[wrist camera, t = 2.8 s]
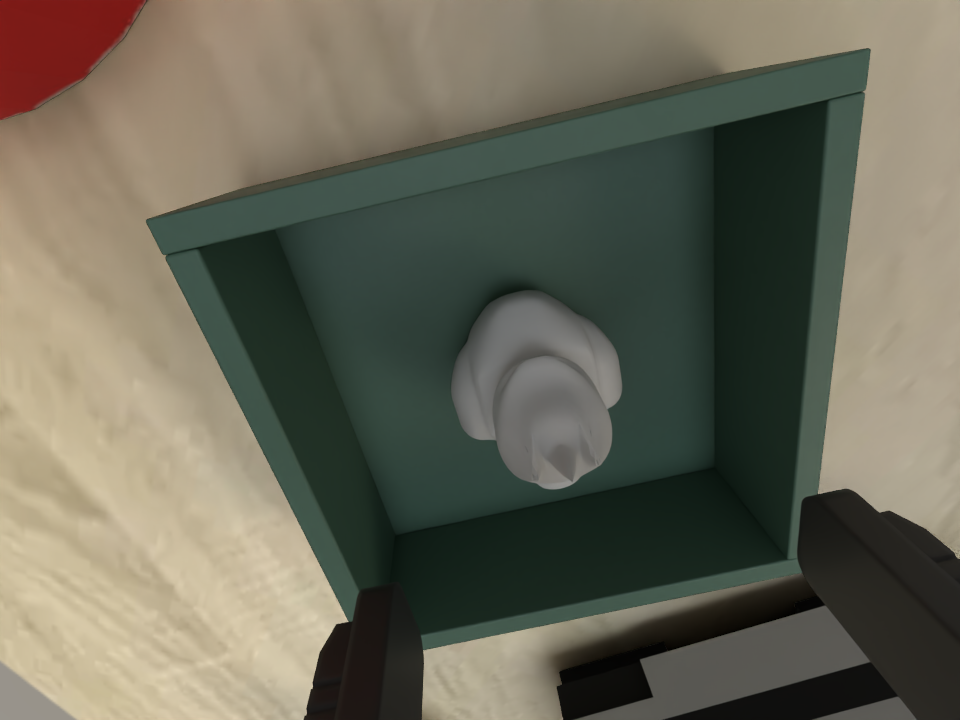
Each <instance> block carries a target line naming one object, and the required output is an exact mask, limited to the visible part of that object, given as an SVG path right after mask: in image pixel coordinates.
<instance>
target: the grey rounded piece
mask: <svg viewBox="0 0 960 720" xmlns="http://www.w3.org/2000/svg"><path fill="white" fill-rule="evenodd" d="M621 393H622V379H621V373H620V366H619V359H618V355H617V352H616V350H615V348H614V346H613V345H612V343H611V342H610V341H609V339H608V338H607V337H606V335H605V334H604V333H603V332H602V331H601V330H600V329H599V328H598V327H597V326H596V325H595V324H594V323H593V322H592V321H590V320H589V319H587V318H585V317H583V316H581V315H578V314H576V313H575V312H573V311H572V310H571V309H570V308H569V307H567V306H566V305H565V304H563V303H562V302H560V301H559V300H557V299H555V298H553V297H551V296H550V295H548V294H546V293H544V292H541V291H538V290H524V291H519V292H515V293H511V294H507V295H504V296H502V297H499V298H497V299H496V300H494V301H492V302H490V303H489V304H488V305H487V306H486V307H485V308H484V310H483V311H482V312H481V314H480V315H479V317H478V318H477V320H476V321H475V323H474V324H473V326H472V328H471V330H470V333H469V337H468V340H467V343H466V344H465V345H464V346H463V348H462V349H461V350H460V352H459V354H458V356H457V359H456V361H455V365H454V369H453V374H452V382H451V395H452V400H453V403H454V406H455V409H456V412H457V415H458V418H459V421H460V424H461V426H462V428H463V429H464V431H465V432H466V433H467V434H468V435H469V436H471V437H472V438H475V439H478V440H496V441H497V446H498V450H499V452H500V455H501V457H502V460H503V461H504V463H505V464H506V466H507V468H508V469H509V470H510V471H511V472H512V473H513V474H514V475H515V476H517V477H518V478H520V479H522V480H525V481H528V482H532V483H537V484H538V485H539V486H541V487H543V488H546V489H561V488H565V487H568V486H570V485H572V484H574V483H575V482H576V481H577V480H578V479H579V478H580V477H581V476H582V475H584V474H586V473H588V472H590V471H592V470H593V469H595V468H597V467H598V466H600V465H601V464H602V462H603V461H604V460H605V459H606V457H607V455H608V453H609V451H610V447H611V443H612V424H611V420H610V416H609V412H608V410H607V409H608V408H610V407H612V406H613V405H615V404H616V403H617V401H618V400H619V398H620V396H621Z"/></svg>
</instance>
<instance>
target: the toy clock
mask: <svg viewBox="0 0 960 720" xmlns="http://www.w3.org/2000/svg"><path fill="white" fill-rule="evenodd" d="M146 1H147V0H0V120H3V119H6V118H9V117H12V116H15V115H18V114H21V113H25V112H28V111H31V110H34V109H36V108H38V107H39V106H41V105H42V104H44V103H46V102H47V101H49V100H51V99H52V98H54V97H55V96H57V95H59V94H60V93H62V92H64V91H65V90H67V89H69V88H70V87H72V86H73V85H75V84H77V83H78V82H80V81H82V80H83V79H84V78H85V77H86V76H87V75H88V74H89V73H90V72H91V71H92V70H93V69H94V68H95V67H96V66H97V65H98V64H99V63H100V62H101V61H102V60H103V59H104V58H105V57H106V56H107V55H108V54H109V53H110V52H111V51H112V50H113V49H114V48H115V47H116V46H117V45H118V43H119V42H120V41H121V40H122V39H123V38H124V37H125V35H126V34H127V32H128V30H129V29H130V27H131V25H132V24H133V22H134V20H135V19H136V17H137V15H138V14H139V12H140V10H141V9H142V7H143V6H144V4H145V2H146Z"/></svg>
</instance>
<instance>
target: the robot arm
mask: <svg viewBox="0 0 960 720" xmlns="http://www.w3.org/2000/svg"><path fill="white" fill-rule="evenodd" d="M797 558H798V562H799V565H800V568H801V571H802V573H803V575H804V577H805V579H806V580H807V582H808V584H809V585H810V586H811V588H812V589H813V590H814V592H815V593H816V594H817V595H818V597H819V598H820V599H821V600H822V602H823V603H824V604H825V605H826V607H827V608H828V609H829V610H830V612H831V613H832V614H833V615H834V617H835V618H836V619H837V620H838V622H839V623H840V624H841V625H842V627H843V628H844V629H845V630H846V632H847V633H848V634H849V635H850V637H851V638H852V639H853V640H854V642H855V643H856V644H857V645H858V647H859V648H860V649H861V650H862V652H863V653H864V654H865V655H866V657H867V658H868V659H869V660H870V662H871V663H872V664H873V665H874V667H875V668H876V669H877V670H878V672H879V673H880V674H881V675H882V677H883V678H884V679H885V680H886V682H887V683H888V684H889V685H890V687H891V688H892V689H893V690H894V692H895V693H896V694H897V695H898V697H899V698H900V699H901V700H902V702H903V703H904V704H905V705H906V707H907V708H908V709H909V710H910V712H911V713H912V714H913V715H914V717H915V718H916V719H917V720H960V559H958V558H957V557H956V556H955V553H954V552H953V551H951V550H950V549H949V548H948V547H947V546H945V545H944V544H943V543H942V542H941V541H939V540H938V539H937V538H936V537H935V536H933V535H932V534H931V533H930V532H929V531H927V530H926V529H925V528H923V527H921V526H919V525H917V524H915V523H913V522H911V521H909V520H907V519H905V518H903V517H901V516H899V515H897V514H895V513H893V512H891V511H886V512H881V513H879V512H878V511H876V510H875V509H874V508H873V507H872V506H871V505H870V504H869V503H867V502H866V501H865V500H864V499H863V498H862V497H861V496H859V495H858V494H857V493H856V492H854V491H852V490H849V489H841V490H837V491H832V492H827V493H822V494H818V495H813V496H808V497H805V498H804V499H803V500H802V503H801V512H800V523H799V534H798V545H797ZM423 670H424V655H423V645H422V639H421V635H420V631H419V628H418V625H417V623H416V621H415V618H414V616H413V613H412V611H411V608H410V606H409V604H408V601H407V599H406V596H405V594H404V591H403V589H402V587H401V585H400V583H399V582H393V583H388V584H383V585H379V586H374V587H369V588H364V589H361V590H360V591H359V593H358V596H357V600H356V605H355V610H354V616H353V621H351V622H346V623H341V624H336V626H335V628H334V629H333V631H332V633H331V634H330V636H329V638H328V640H327V641H326V643H325V645H324V646H323V648H322V650H321V651H320V654H319V658H318V662H317V667H316V671H315V675H314V679H313V689H311V692H310V696H309V700H308V705H307V715H306V716H305V717H304V720H422V697H423Z"/></svg>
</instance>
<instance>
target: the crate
mask: <svg viewBox="0 0 960 720" xmlns="http://www.w3.org/2000/svg"><path fill="white" fill-rule="evenodd" d="M870 51H871V50H870V49H869V48H866V49H860V50H855V51H849V52H843V53H838V54H832V55H827V56H821V57H815V58H810V59H804V60H798V61H793V62H787V63H781V64H776V65H770V66H764V67H759V68H753V69H747V70H742V71H737V72H731V73H726V74H722V75H717V76H713V77H709V78H705V79H701V80H696V81H692V82H688V83H684V84H680V85H675V86H671V87H667V88H663V89H659V90H654V91H650V92H646V93H642V94H638V95H633V96H629V97H625V98H621V99H616V100H612V101H608V102H604V103H600V104H595V105H591V106H587V107H583V108H579V109H574V110H570V111H566V112H562V113H558V114H553V115H549V116H545V117H541V118H537V119H532V120H528V121H524V122H520V123H515V124H511V125H507V126H503V127H499V128H494V129H490V130H486V131H482V132H478V133H473V134H469V135H465V136H461V137H457V138H452V139H448V140H444V141H440V142H436V143H431V144H427V145H423V146H419V147H414V148H410V149H406V150H402V151H398V152H393V153H389V154H385V155H381V156H377V157H372V158H368V159H364V160H360V161H356V162H351V163H347V164H343V165H339V166H335V167H330V168H326V169H322V170H318V171H313V172H309V173H305V174H301V175H297V176H292V177H288V178H284V179H280V180H276V181H271V182H267V183H263V184H259V185H255V186H250V187H246V188H242V189H239V190H236V191H232V192H229V193H226V194H223V195H220V196H217V197H214V198H211V199H208V200H205V201H202V202H198V203H195V204H192V205H189V206H186V207H183V208H180V209H177V210H174V211H171V212H168V213H164V214H161V215H158V216H155V217H152V218H149V219H147V220H146V223H147V225H148V227H149V229H150V231H151V233H152V235H153V237H154V239H155V241H156V243H157V245H158V247H159V248H160V250H161V252H162V254H163V255H166V261H167V263H168V265H169V267H170V269H171V271H172V273H173V275H174V277H175V279H176V281H177V283H178V285H179V286H180V288H181V290H182V292H183V294H184V296H185V298H186V300H187V302H188V304H189V306H190V308H191V310H192V312H193V314H194V316H195V318H196V320H197V322H198V324H199V326H200V328H201V330H202V332H203V334H204V336H205V338H206V340H207V342H208V344H209V346H210V348H211V350H212V352H213V354H214V356H215V358H216V360H217V362H218V364H219V366H220V368H221V370H222V372H223V374H224V376H225V378H226V380H227V382H228V384H229V386H230V388H231V389H232V391H233V393H234V395H235V397H236V399H237V401H238V403H239V405H240V407H241V409H242V411H243V413H244V415H245V417H246V419H247V421H248V423H249V425H250V427H251V429H252V431H253V433H254V435H255V437H256V439H257V441H258V443H259V445H260V447H261V449H262V451H263V453H264V455H265V457H266V459H267V461H268V463H269V465H270V467H271V469H272V471H273V473H274V475H275V477H276V479H277V481H278V483H279V485H280V487H281V489H282V490H283V492H284V494H285V496H286V498H287V500H288V502H289V504H290V506H291V508H292V510H293V512H294V514H295V516H296V518H297V520H298V522H299V524H300V526H301V528H302V530H303V532H304V534H305V536H306V538H307V540H308V542H309V544H310V546H311V548H312V550H313V552H314V554H315V556H316V558H317V560H318V562H319V564H320V566H321V568H322V570H323V572H324V574H325V576H326V578H327V580H328V582H329V584H330V586H331V588H332V590H333V592H334V593H335V595H336V597H337V599H338V601H339V603H340V605H341V607H342V609H343V611H344V613H345V615H346V617H347V619H348V621H349V622H351V621H353V616H354V610H355V605H356V600H357V596H358V593H359V591H360V590H361V589H364V588H369V587H374V586H379V585H383V584H388V583H393V582H399V583H400V585H401V587H402V589H403V591H404V594H405V596H406V599H407V601H408V604H409V606H410V608H411V611H412V613H413V616H414V618H415V621H416V623H417V625H418V628H419V631H420V635H421V639H422V645H423V650H426V649H431V648H436V647H441V646H446V645H451V644H456V643H461V642H466V641H470V640H475V639H480V638H485V637H490V636H495V635H500V634H505V633H510V632H514V631H519V630H524V629H529V628H534V627H539V626H544V625H549V624H554V623H559V622H563V621H568V620H573V619H578V618H583V617H588V616H593V615H598V614H603V613H607V612H612V611H617V610H622V609H627V608H632V607H637V606H642V605H647V604H652V603H656V602H661V601H666V600H671V599H676V598H681V597H686V596H691V595H696V594H700V593H705V592H710V591H715V590H720V589H725V588H730V587H735V586H740V585H745V584H749V583H754V582H759V581H764V580H769V579H774V578H779V577H784V576H789V575H793V574H798V573H802V571H801V568H800V565H799V562H798V558H797V545H798V534H799V523H800V512H801V503H802V500H803V499H804V498H805V497H808V496H813V495H818V487H819V478H820V470H821V461H822V453H823V445H824V436H825V428H826V419H827V411H828V402H829V394H830V385H831V377H832V368H833V360H834V352H835V343H836V335H837V326H838V318H839V309H840V301H841V292H842V284H843V276H844V267H845V259H846V250H847V242H848V233H849V225H850V216H851V208H852V200H853V191H854V183H855V174H856V166H857V157H858V149H859V140H860V132H861V124H862V115H863V107H864V98H865V93H864V92H863V91H864V90H866V85H867V77H868V68H869V60H870ZM167 254H168V255H167ZM524 290H538V291H541V292H544V293H546V294H548V295H550V296H551V297H553V298H555V299H557V300H559V301H560V302H562V303H563V304H565V305H566V306H567V307H569V308H570V309H571V310H572V311H573V312H575V313H576V314H578V315H581V316H583V317H585V318H587V319H589V320H590V321H592V322H593V323H594V324H595V325H596V326H597V327H598V328H599V329H600V330H601V331H602V332H603V333H604V334H605V335H606V337H607V338H608V339H609V341H610V342H611V343H612V345H613V346H614V348H615V350H616V352H617V355H618V359H619V366H620V373H621V379H622V393H621V396H620V398H619V400H618V401H617V403H616V404H615V405H613V406H612V407H610V408H608V409H607V410H608V412H609V416H610V420H611V424H612V443H611V447H610V451H609V453H608V455H607V457H606V459H605V460H604V461H603V462H602V464H601V465H600V466H598V467H597V468H595V469H593V470H592V471H590V472H588V473H586V474H584V475H582V476H581V477H580V478H579V479H578V480H577V481H576V482H575V483H574V484H572V485H570V486H568V487H565V488H561V489H546V488H543V487H541V486H539V485H538V484H537V483H532V482H528V481H525V480H522V479H520V478H518V477H517V476H515V475H514V474H513V473H512V472H511V471H510V470H509V469H508V468H507V466H506V464H505V463H504V461H503V460H502V457H501V455H500V452H499V450H498V446H497V441H496V440H478V439H475V438H472V437H471V436H469V435H468V434H467V433H466V432H465V431H464V429H463V428H462V426H461V424H460V421H459V418H458V415H457V412H456V409H455V406H454V403H453V400H452V395H451V382H452V374H453V369H454V365H455V361H456V359H457V356H458V354H459V352H460V350H461V349H462V348H463V346H464V345H465V344H466V343H467V340H468V337H469V333H470V330H471V328H472V326H473V324H474V323H475V321H476V320H477V318H478V317H479V315H480V314H481V312H482V311H483V310H484V308H485V307H486V306H487V305H488V304H489V303H490V302H492V301H494V300H496V299H497V298H499V297H502V296H504V295H507V294H511V293H515V292H519V291H524Z"/></svg>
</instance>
